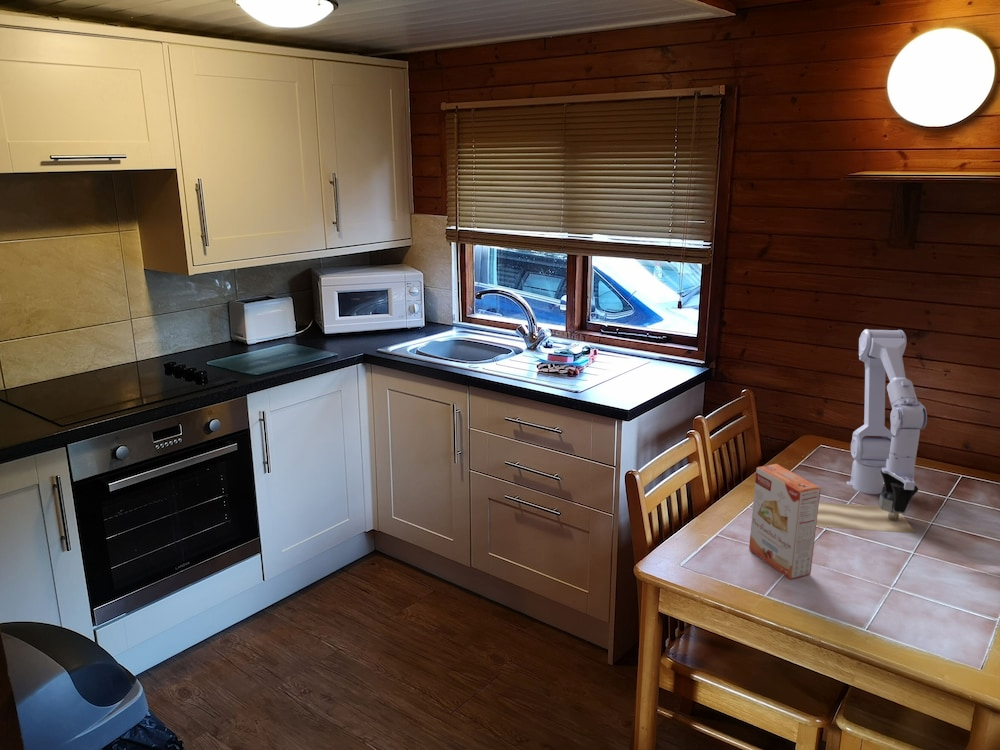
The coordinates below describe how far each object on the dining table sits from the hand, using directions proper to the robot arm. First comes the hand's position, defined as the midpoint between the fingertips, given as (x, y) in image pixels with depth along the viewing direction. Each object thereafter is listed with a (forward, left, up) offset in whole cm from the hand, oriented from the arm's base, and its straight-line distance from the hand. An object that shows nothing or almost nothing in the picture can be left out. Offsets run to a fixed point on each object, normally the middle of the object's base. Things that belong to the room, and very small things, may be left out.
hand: (895, 505), depth 189 cm
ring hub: (0, 0, -1) cm, 1 cm away
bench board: (0, -8, -5) cm, 9 cm away
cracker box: (+24, -31, -5) cm, 40 cm away
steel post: (0, 0, -4) cm, 4 cm away
